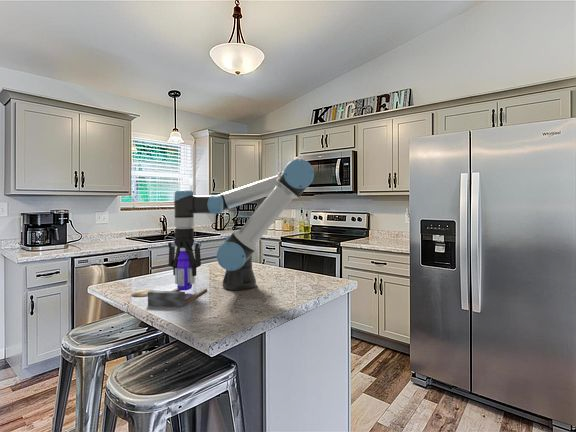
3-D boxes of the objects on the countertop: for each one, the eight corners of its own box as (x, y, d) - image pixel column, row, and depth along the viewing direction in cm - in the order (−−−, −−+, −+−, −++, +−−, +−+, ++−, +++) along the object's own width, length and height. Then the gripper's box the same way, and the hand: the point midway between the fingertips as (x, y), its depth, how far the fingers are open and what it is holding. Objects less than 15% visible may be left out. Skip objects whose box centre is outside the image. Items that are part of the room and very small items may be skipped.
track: (207, 290, 142) (206, 279, 142) (182, 307, 120) (181, 293, 120) (177, 289, 145) (177, 278, 144) (147, 305, 123) (147, 292, 122)
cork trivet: (159, 291, 142) (159, 290, 142) (146, 297, 133) (146, 295, 133) (140, 290, 144) (140, 289, 144) (126, 296, 135) (126, 294, 135)
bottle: (180, 287, 141) (179, 246, 140) (193, 286, 141) (193, 246, 141) (175, 291, 134) (174, 248, 133) (190, 291, 134) (189, 248, 133)
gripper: (209, 227, 139) (210, 282, 139) (168, 226, 142) (168, 280, 143) (201, 228, 131) (202, 286, 132) (158, 228, 135) (159, 284, 136)
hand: (184, 283), depth 137 cm, fingers closed on bottle, 6 cm apart
